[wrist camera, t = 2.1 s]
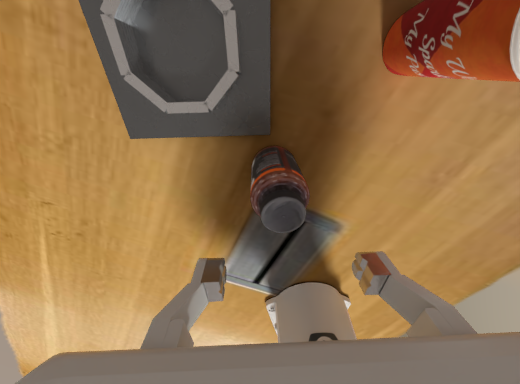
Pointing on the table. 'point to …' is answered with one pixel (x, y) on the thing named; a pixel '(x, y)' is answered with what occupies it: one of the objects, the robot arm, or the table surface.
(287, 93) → the table surface
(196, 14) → the ring collar
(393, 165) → the table surface
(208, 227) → the table surface
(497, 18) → the paper cup
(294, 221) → the supplement bottle
